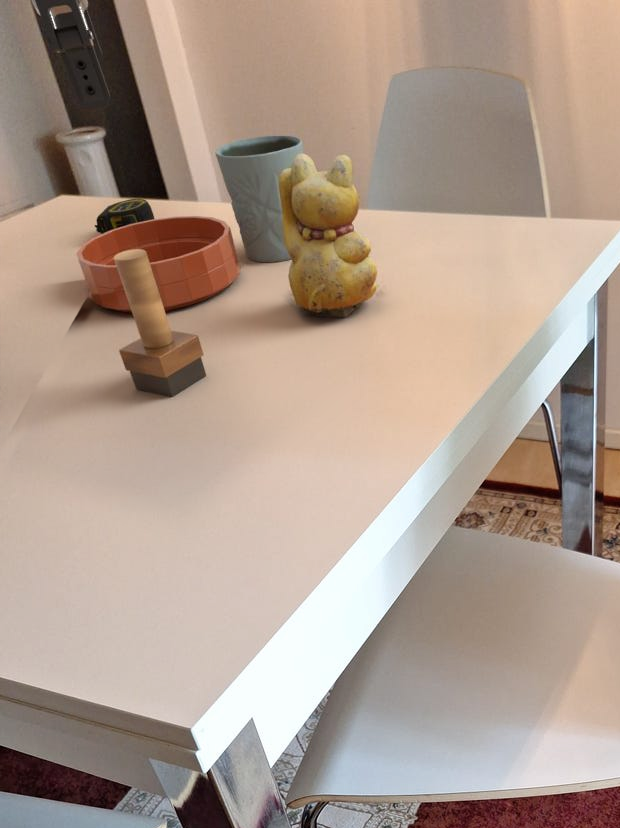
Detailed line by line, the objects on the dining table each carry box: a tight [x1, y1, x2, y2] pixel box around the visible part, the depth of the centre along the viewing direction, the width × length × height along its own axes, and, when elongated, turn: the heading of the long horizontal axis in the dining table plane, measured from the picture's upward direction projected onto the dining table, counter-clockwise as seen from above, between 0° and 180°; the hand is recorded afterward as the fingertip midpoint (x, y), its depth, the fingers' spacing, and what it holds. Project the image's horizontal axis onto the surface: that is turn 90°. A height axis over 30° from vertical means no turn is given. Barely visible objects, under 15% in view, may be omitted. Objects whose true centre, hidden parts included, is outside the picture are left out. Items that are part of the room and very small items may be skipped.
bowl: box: [75, 215, 241, 314], centre depth 107 cm, size 17×17×6 cm
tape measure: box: [94, 198, 156, 235], centre depth 125 cm, size 7×7×4 cm
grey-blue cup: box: [214, 135, 304, 263], centre depth 112 cm, size 10×10×12 cm
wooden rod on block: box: [114, 249, 207, 397], centre depth 84 cm, size 5×5×12 cm
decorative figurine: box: [279, 152, 378, 318], centre depth 94 cm, size 10×8×15 cm
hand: (93, 83), depth 68 cm, fingers open, 8 cm apart
